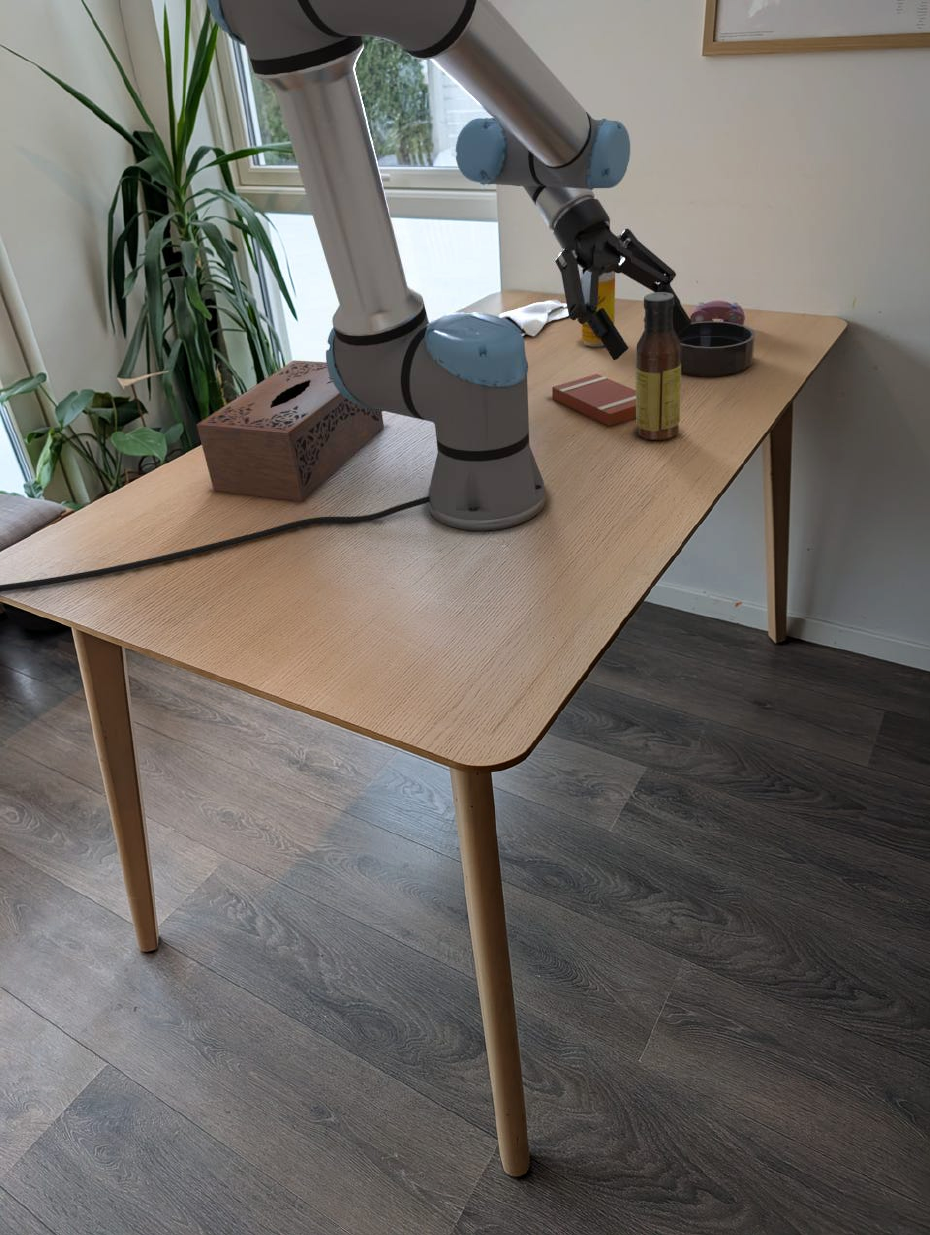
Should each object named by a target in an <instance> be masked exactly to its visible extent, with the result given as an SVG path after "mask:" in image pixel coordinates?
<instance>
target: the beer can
mask: <svg viewBox="0 0 930 1235" xmlns="http://www.w3.org/2000/svg"><path fill="white" fill-rule="evenodd" d="M581 284H582V281H581ZM615 301H616V273H615V272H614V271H613V272H610V273H604V274H602V275H601V276H599V285H598V305H597V310H596V311H598V310H599V309H601V308H604V310H605V311H606V313H607V314H608V316H609V318H610V319H611V321H612V322H613V324H614V325H615V310H616V309H615V308H616V306H615V304H616V302H615ZM580 340H581V341H582V342H583V344H584V345H585V346H587V347H595V348H600V347H605V346H604V344H603V343H602V341H601V339H598V338H597V337H596V336H595V334H594V333H593V331H592V329H591V328H590V326H589V325H588V323H587V322H585V323H584V324H580Z"/></svg>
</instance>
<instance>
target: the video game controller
mask: <svg viewBox="0 0 930 1235" xmlns="http://www.w3.org/2000/svg"><path fill="white" fill-rule="evenodd" d="M689 318H690V320H691V321H692V323H695V322H705V321H714V320H719V322H730V323H736V324H740V325H743V326H744V325H745V324H744V323H745V320H746V317H745V312H744V309H743V308H742V306H741V305H739V304H738V302H733V303H731V302H728V301H724V300H711V301H708V302H706V303H705V302H698V304H697V305H695V306H694V307H693V308H692V309H691V312H690V315H689Z"/></svg>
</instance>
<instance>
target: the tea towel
mask: <svg viewBox="0 0 930 1235" xmlns="http://www.w3.org/2000/svg"><path fill="white" fill-rule="evenodd" d="M551 390H552V400H555V401H556V402H559V403H561V404H563V405H565V406H566V407H569V408H571V409H572V410H574V411H577V412H579V413H581V414H583V415H585V416H587V417H589V418H591V419H593V420H595V421H598V422H600V423H602V424H604V425H606V426H608V427H612V426H615V425H618V424H622V423H624V422H627V421H630V420H633V419H636V389H633V388H631V387H629V386H627V385H624V384H622V383H620V382H617V381H615V380H612V379H610V378H609V377H606V376H603V375H600V374H598V373H595V374H591V375H587V376H585V377H581V378H577V379H575V380H571V381H567V382H564V383H561V384H557V385H554V386H552V387H551Z"/></svg>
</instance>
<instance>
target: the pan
mask: <svg viewBox="0 0 930 1235" xmlns="http://www.w3.org/2000/svg"><path fill="white" fill-rule="evenodd" d="M675 333H676V332H675ZM676 335H677V337H678V339H679V340H680V343H681V351H680V361H681V374H685V375H688V376H694V377H695V376H696V377H721V376H728V375H729V376H730V375H734V374H736V373H739V372H741V371H743V370H745V369H747V368H748V367H750V366H751V364H752V362H753V361H754V352H755V351H754V350H755V343H756V342H755V341H756V333H755V331H754V330H753V329H752V328H750V327H749V326H746V325H744V324H743V325H740V324H736V323H730V322H720V320H719V321H717V320H713V321H705V322H695V323H691V324H690V325H689V326H688V327H686V328H685V329H684V330H683V331H682V332H681V333H680V334H676Z"/></svg>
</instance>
